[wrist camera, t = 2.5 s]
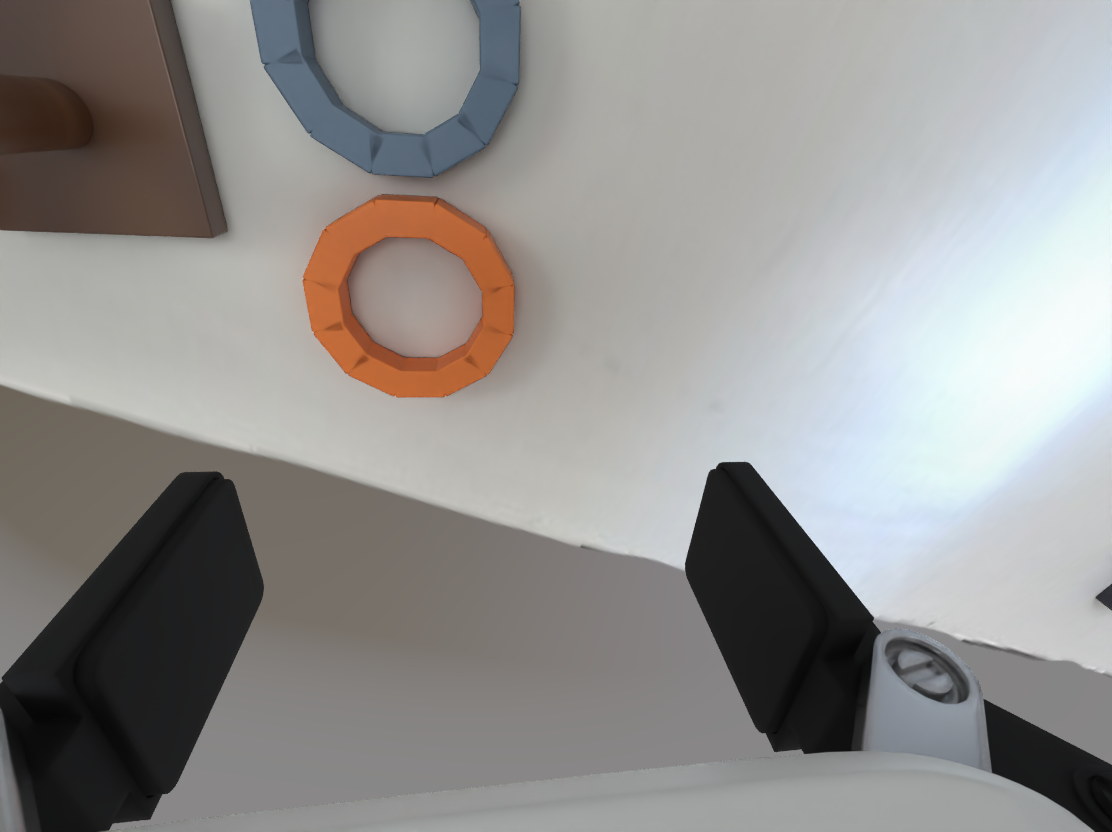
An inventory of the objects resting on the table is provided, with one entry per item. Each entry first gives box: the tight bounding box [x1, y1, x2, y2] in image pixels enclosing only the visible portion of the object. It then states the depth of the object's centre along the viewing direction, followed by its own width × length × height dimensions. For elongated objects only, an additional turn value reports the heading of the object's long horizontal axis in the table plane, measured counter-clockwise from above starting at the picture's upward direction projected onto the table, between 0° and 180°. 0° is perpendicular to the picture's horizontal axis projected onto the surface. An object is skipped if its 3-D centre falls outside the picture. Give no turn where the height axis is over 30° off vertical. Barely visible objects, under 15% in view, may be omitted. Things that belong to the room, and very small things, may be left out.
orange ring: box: [303, 194, 515, 397], centre depth 26 cm, size 10×10×2 cm
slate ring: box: [250, 0, 521, 178], centre depth 20 cm, size 10×10×2 cm
